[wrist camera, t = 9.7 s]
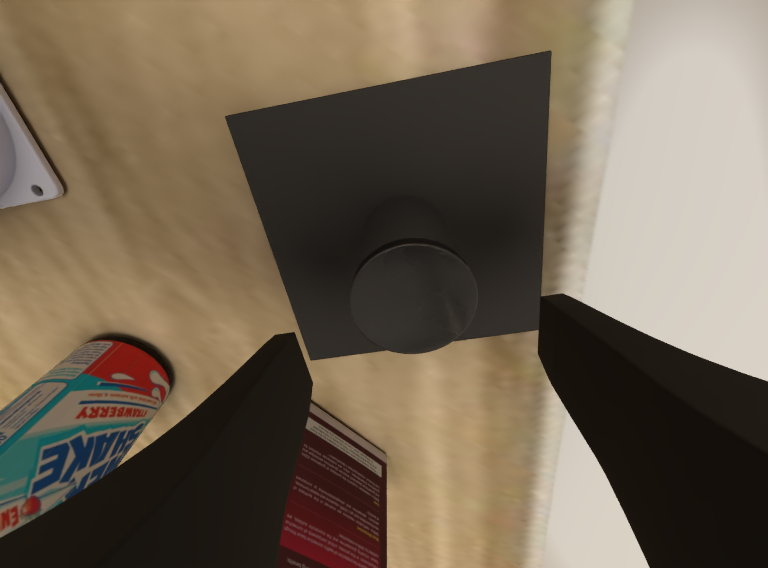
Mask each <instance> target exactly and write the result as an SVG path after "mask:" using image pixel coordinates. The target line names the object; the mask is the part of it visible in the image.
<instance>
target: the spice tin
mask: <svg viewBox="0 0 768 568" xmlns="http://www.w3.org/2000/svg"><path fill="white" fill-rule="evenodd" d="M477 302H478V291H477V285H476V282H475V279H474V277H473V275H472V273H471V271H470V269H469V266H468V265H467V263H466V262H465V261H464V259H463V257H462V255H461V253H460V251H459V249H458V247H457V245H456V243H455V241H454V238H453V236H452V234H451V232H450V230H449V228H448V226H447V224H446V222H445V220H444V218H443V216H442V214H441V213H440V211H439V210H438V209H437V208H436V207H435V206H434V205H433V204H431V203H430V202H428V201H427V200H424V199H422V198H419V197H416V196H409V195H403V196H396V197H392V198H389V199H387V200H385V201H383V202H381V203H380V204H379V205H377V206H376V207H375V208H374V209H373V210H372V211H371V212H370V214H369V215H368V217H367V218H366V221H365V223H364V226H363V229H362V235H361V240H360V246H359V252H358V257H357V263H356V268H355V274H354V276H353V280H352V283H351V288H350V295H349V307H350V312H351V315H352V318H353V320H354V322H355V324H356V326H357V327H358V329H359V330H360V332H361V333H362V334H363V335H364V336H365V337H366V338H367V339H369V340H370V341H371V342H373V343H374V344H376V345H377V346H379V347H381V348H383V349H386V350H389V351H392V352H397V353H403V354H420V353H426V352H430V351H434V350H437V349H439V348H442V347H444V346H446V345H447V344H449V343H451V342H452V341H454V340H455V339H456V338H458V337H459V336H460V335H461V334H462V333H463V332H464V331H465V329H466V328H467V327H468V325H469V324H470V322H471V321H472V319H473V317H474V314H475V311H476V308H477Z"/></svg>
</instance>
